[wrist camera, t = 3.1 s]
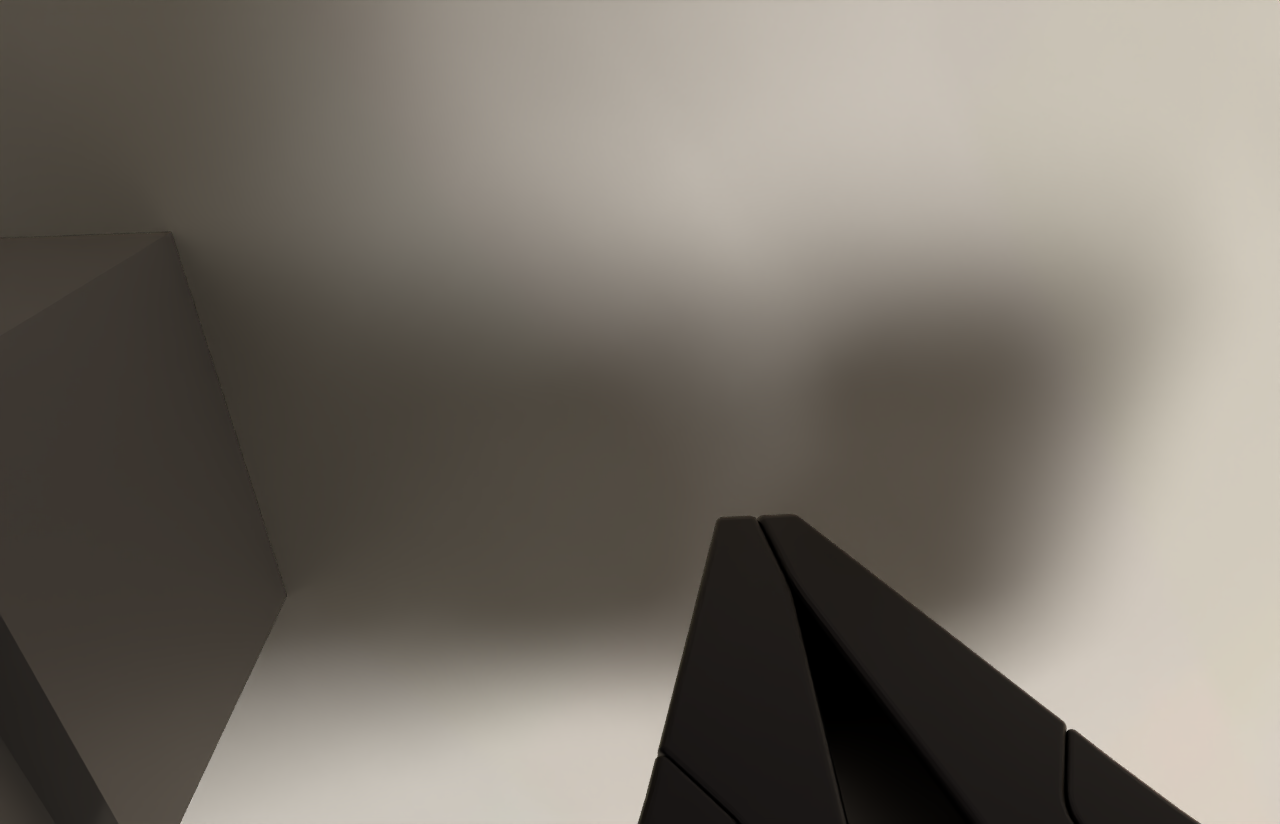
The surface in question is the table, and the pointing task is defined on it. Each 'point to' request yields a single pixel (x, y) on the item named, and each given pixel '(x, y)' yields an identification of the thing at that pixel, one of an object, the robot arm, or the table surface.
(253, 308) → the table surface
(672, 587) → the table surface
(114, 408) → the two tier gray step
